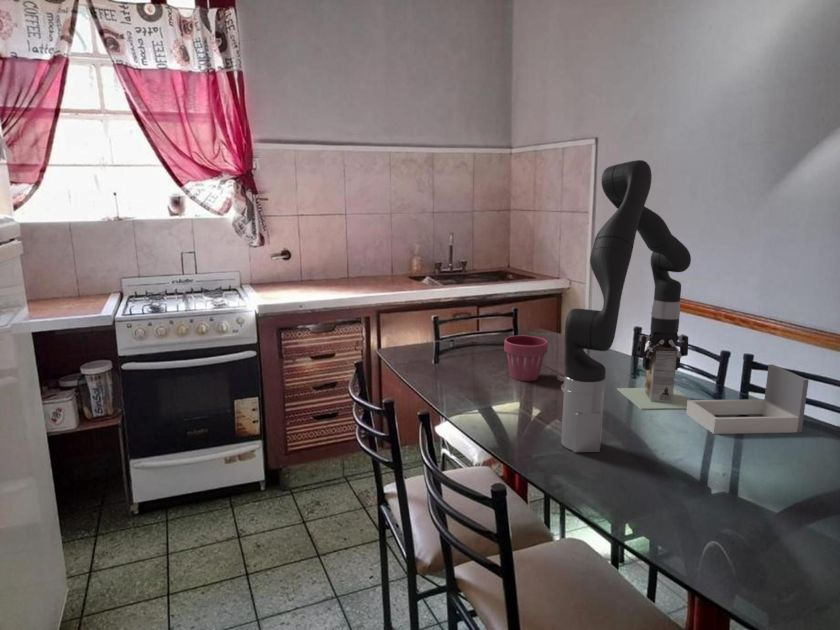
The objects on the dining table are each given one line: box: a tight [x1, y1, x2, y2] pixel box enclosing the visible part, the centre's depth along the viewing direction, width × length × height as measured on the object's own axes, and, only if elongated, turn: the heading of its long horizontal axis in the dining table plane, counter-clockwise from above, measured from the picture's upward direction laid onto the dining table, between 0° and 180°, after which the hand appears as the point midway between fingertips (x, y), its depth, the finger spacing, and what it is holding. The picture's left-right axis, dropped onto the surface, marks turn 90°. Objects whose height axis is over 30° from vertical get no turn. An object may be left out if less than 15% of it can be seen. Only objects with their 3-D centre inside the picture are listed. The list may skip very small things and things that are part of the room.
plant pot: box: [503, 334, 549, 382], centre depth 195 cm, size 14×14×13 cm
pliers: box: [556, 374, 565, 393], centre depth 188 cm, size 10×2×15 cm
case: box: [685, 364, 810, 435], centre depth 156 cm, size 14×23×14 cm, turn 93°
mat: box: [616, 387, 692, 411], centre depth 176 cm, size 18×18×1 cm
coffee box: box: [644, 341, 677, 403], centre depth 174 cm, size 9×6×16 cm
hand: (660, 369), depth 174 cm, fingers open, 8 cm apart
